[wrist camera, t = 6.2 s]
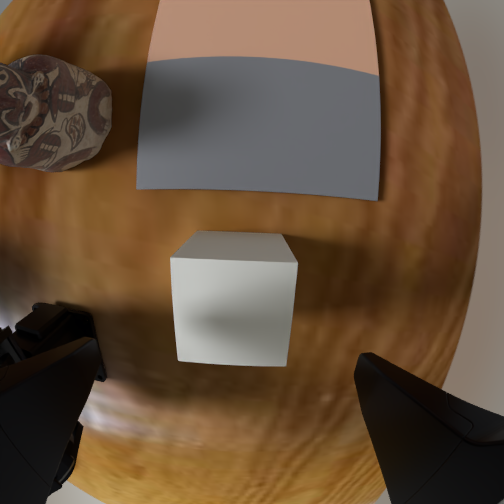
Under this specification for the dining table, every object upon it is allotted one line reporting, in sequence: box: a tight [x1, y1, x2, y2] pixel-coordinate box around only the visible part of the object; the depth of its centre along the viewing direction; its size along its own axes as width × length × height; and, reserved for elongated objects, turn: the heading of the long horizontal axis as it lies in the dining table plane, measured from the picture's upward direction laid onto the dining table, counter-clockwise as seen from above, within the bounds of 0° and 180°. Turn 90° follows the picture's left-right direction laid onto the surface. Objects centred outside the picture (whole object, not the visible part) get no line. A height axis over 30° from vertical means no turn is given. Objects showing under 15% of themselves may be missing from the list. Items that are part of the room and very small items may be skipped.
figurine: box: [0, 55, 112, 172], centre depth 9 cm, size 7×7×12 cm
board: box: [137, 0, 381, 201], centre depth 13 cm, size 16×14×1 cm
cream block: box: [170, 231, 298, 366], centre depth 14 cm, size 5×5×6 cm
